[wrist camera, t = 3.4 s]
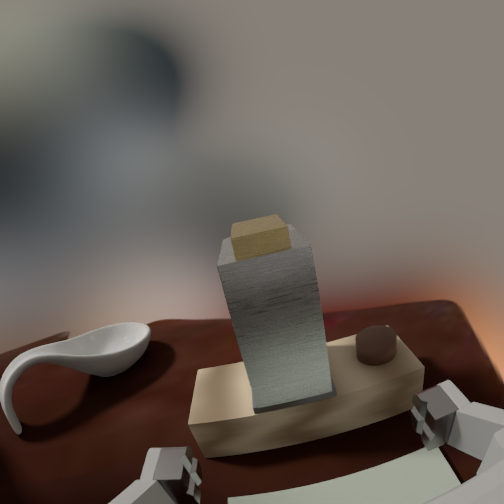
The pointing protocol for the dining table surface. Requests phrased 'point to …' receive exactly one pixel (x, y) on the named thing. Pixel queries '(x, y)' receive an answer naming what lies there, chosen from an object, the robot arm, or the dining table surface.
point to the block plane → (308, 409)
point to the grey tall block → (275, 310)
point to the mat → (373, 484)
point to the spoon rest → (80, 357)
